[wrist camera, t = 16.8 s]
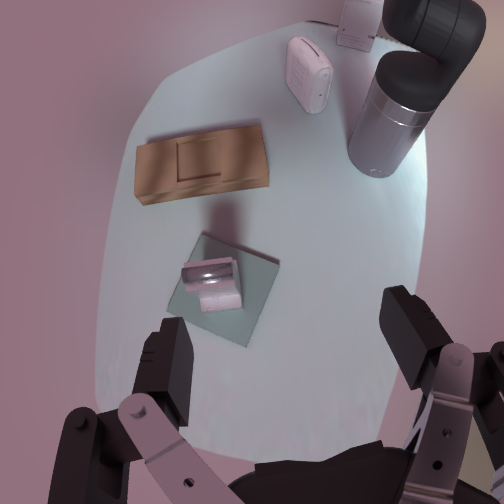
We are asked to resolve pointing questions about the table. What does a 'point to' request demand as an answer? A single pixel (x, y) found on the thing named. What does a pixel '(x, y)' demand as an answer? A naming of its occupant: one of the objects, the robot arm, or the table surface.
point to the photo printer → (308, 74)
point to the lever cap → (214, 284)
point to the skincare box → (359, 23)
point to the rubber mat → (252, 286)
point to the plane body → (201, 165)
